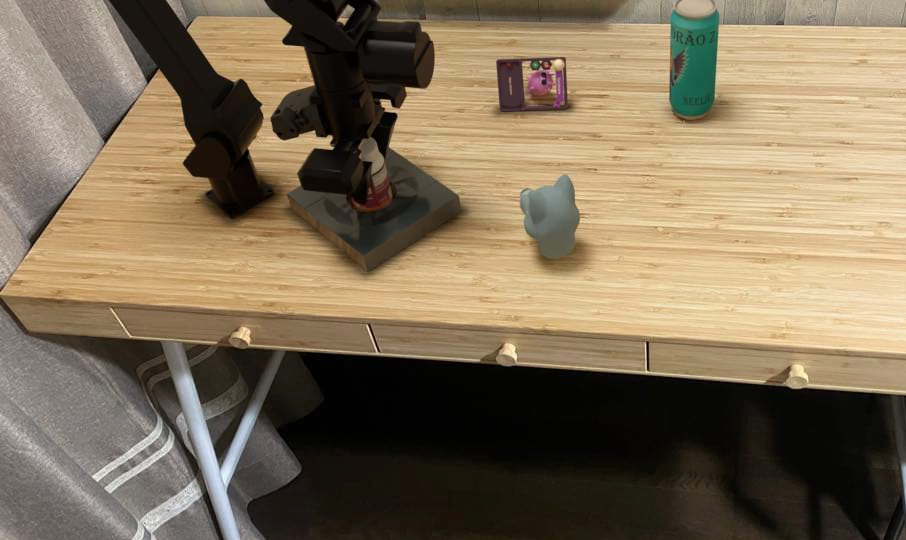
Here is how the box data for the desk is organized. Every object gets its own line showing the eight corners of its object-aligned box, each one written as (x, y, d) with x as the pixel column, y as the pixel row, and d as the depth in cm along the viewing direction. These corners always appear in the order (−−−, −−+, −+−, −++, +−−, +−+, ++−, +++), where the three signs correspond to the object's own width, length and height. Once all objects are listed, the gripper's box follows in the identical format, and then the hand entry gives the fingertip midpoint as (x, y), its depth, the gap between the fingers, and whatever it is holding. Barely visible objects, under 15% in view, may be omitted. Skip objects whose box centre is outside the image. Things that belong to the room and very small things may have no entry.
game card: (495, 61, 130) (565, 58, 129) (499, 52, 134) (567, 49, 133) (499, 112, 133) (567, 110, 132) (503, 101, 137) (569, 99, 136)
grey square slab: (461, 211, 121) (458, 195, 119) (367, 272, 115) (363, 256, 113) (382, 155, 129) (378, 139, 127) (291, 209, 123) (285, 193, 122)
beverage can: (662, 102, 132) (663, -2, 121) (702, 92, 133) (707, -13, 122) (679, 127, 128) (682, 22, 117) (721, 116, 129) (728, 10, 118)
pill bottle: (346, 208, 121) (329, 153, 114) (369, 185, 123) (354, 129, 117) (378, 219, 119) (363, 163, 113) (401, 195, 121) (388, 139, 115)
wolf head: (549, 214, 119) (542, 145, 112) (592, 254, 114) (588, 186, 106) (505, 236, 117) (495, 168, 110) (546, 278, 112) (539, 210, 104)
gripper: (304, 25, 116) (335, 135, 127) (234, 123, 104) (275, 235, 115) (395, 31, 113) (418, 143, 125) (334, 132, 101) (366, 245, 113)
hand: (369, 189), depth 120 cm, fingers closed on pill bottle, 5 cm apart
